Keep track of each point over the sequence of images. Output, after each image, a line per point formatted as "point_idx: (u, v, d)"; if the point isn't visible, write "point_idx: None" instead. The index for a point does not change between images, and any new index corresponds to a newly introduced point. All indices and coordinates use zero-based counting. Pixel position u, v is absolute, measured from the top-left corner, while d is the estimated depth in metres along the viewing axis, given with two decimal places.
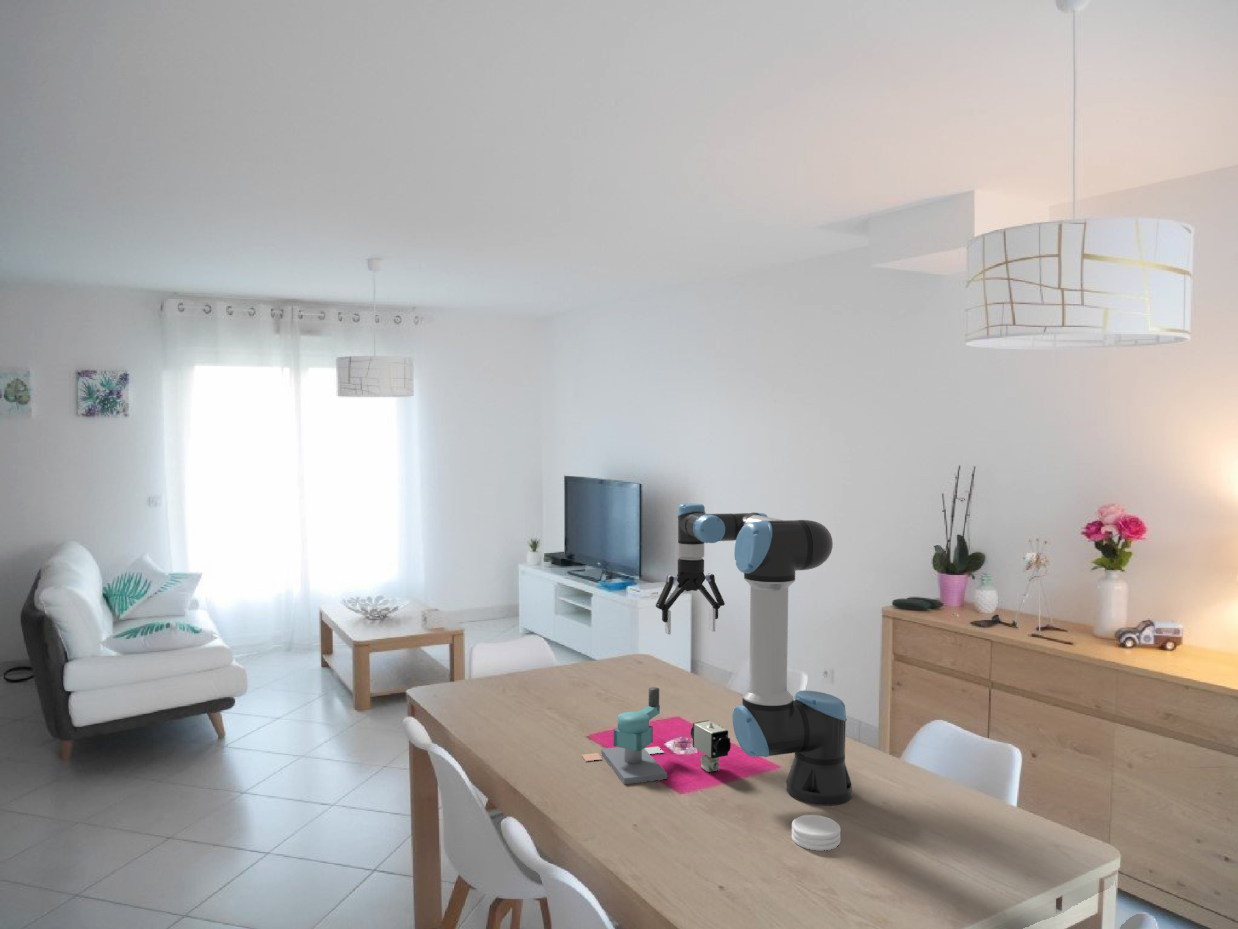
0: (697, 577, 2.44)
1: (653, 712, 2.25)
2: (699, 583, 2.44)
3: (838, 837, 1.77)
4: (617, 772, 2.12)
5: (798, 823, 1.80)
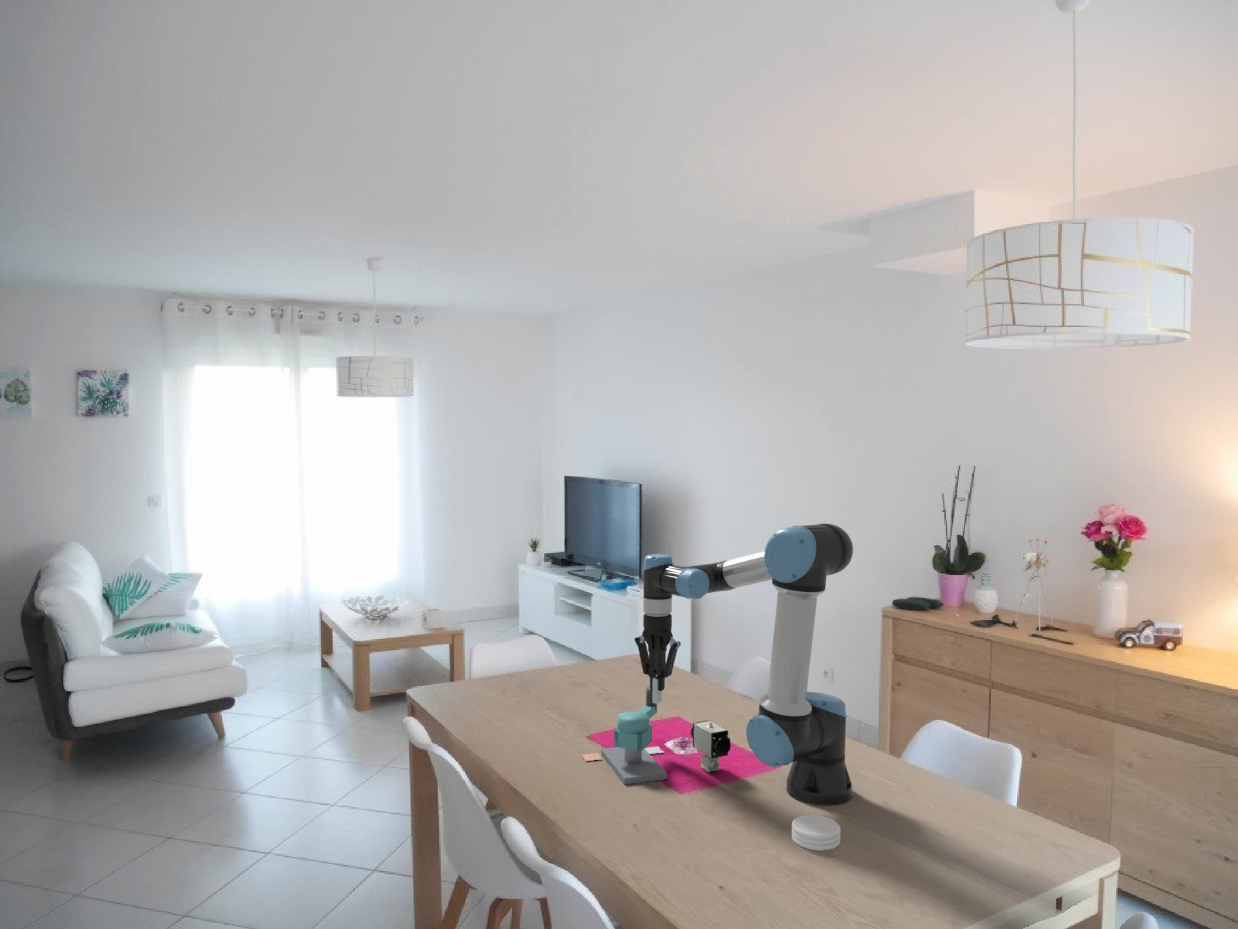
0: (662, 632, 2.24)
1: (651, 712, 2.26)
2: (658, 643, 2.24)
3: (838, 837, 1.77)
4: (617, 772, 2.12)
5: (798, 823, 1.80)
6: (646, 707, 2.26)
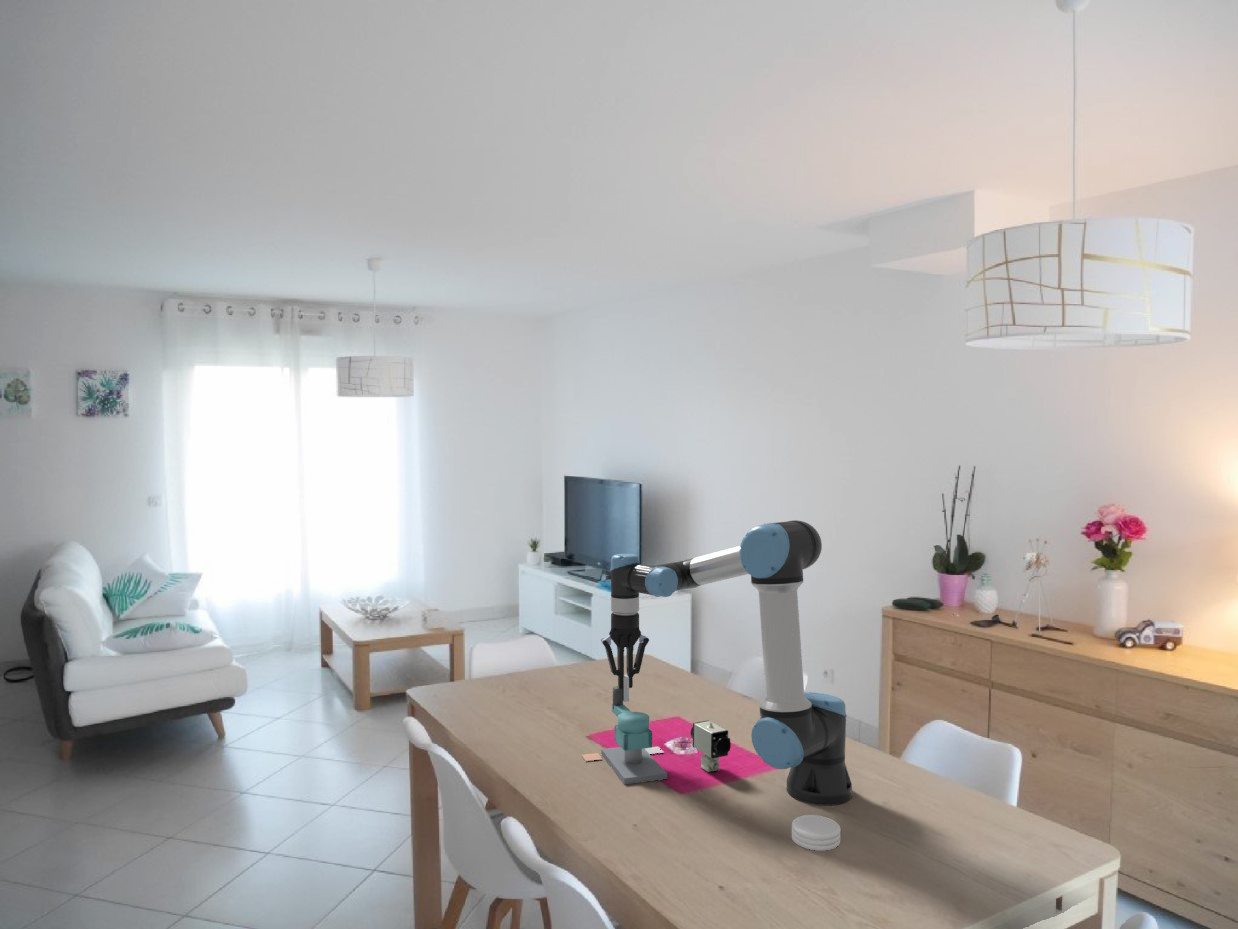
0: (633, 629, 2.28)
1: None
2: (631, 641, 2.27)
3: (838, 837, 1.77)
4: (617, 772, 2.12)
5: (798, 823, 1.80)
6: (619, 707, 2.26)
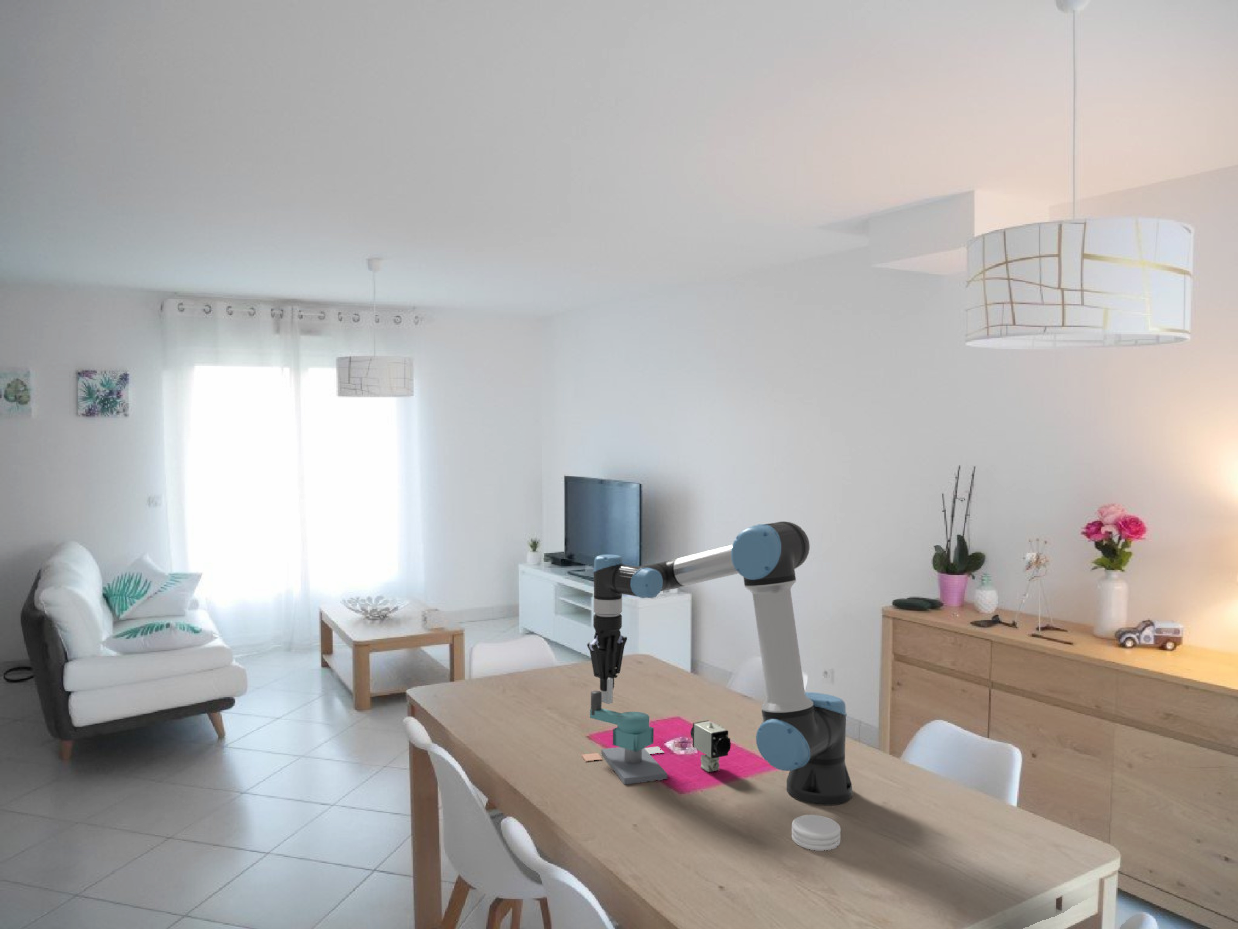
0: (616, 630, 2.28)
1: None
2: (616, 641, 2.27)
3: (838, 837, 1.77)
4: (617, 772, 2.12)
5: (798, 823, 1.80)
6: (603, 711, 2.23)
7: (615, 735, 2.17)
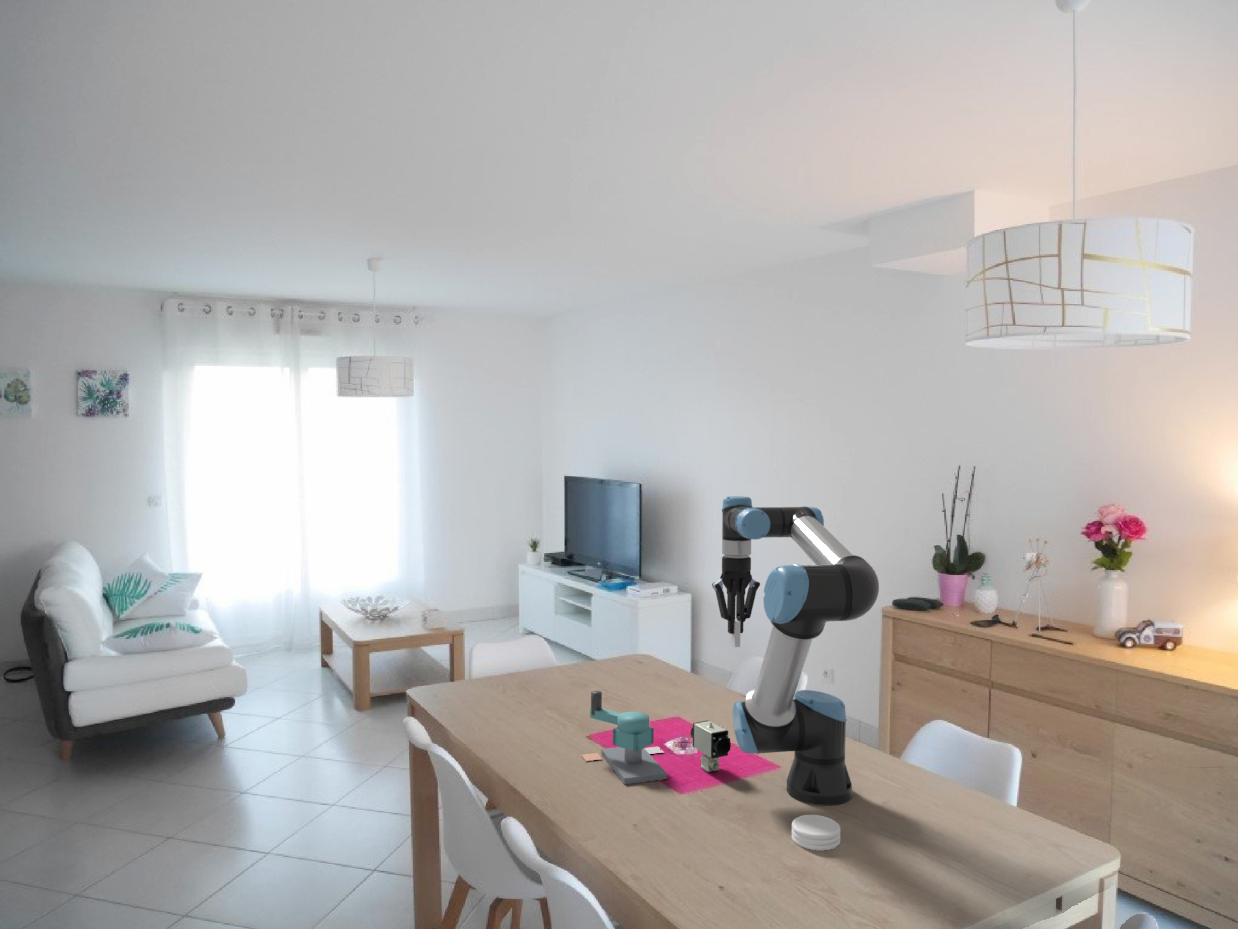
0: (745, 573, 2.23)
1: None
2: (743, 584, 2.22)
3: (838, 837, 1.77)
4: (617, 772, 2.12)
5: (798, 823, 1.80)
6: (603, 711, 2.23)
7: (615, 735, 2.17)
